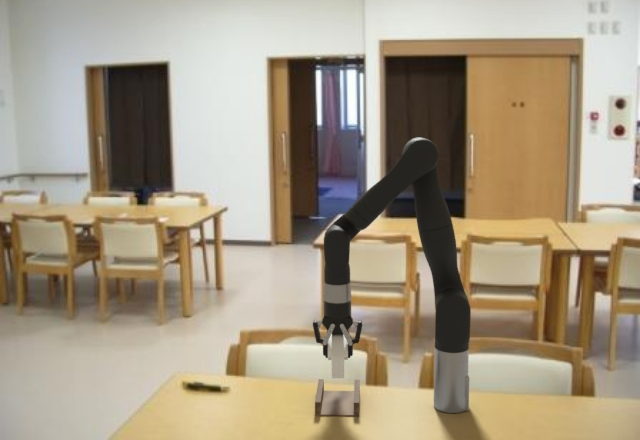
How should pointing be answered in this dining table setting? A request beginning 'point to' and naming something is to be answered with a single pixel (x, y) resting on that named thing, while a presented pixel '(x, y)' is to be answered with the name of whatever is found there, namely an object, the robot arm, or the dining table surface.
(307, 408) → the dining table surface
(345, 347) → the shelf bracket
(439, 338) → the robot arm
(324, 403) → the walnut channel
